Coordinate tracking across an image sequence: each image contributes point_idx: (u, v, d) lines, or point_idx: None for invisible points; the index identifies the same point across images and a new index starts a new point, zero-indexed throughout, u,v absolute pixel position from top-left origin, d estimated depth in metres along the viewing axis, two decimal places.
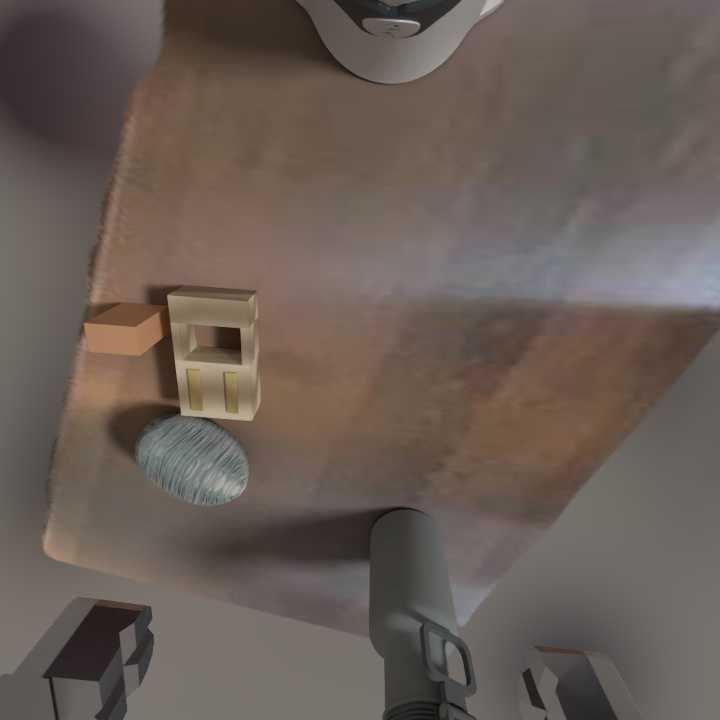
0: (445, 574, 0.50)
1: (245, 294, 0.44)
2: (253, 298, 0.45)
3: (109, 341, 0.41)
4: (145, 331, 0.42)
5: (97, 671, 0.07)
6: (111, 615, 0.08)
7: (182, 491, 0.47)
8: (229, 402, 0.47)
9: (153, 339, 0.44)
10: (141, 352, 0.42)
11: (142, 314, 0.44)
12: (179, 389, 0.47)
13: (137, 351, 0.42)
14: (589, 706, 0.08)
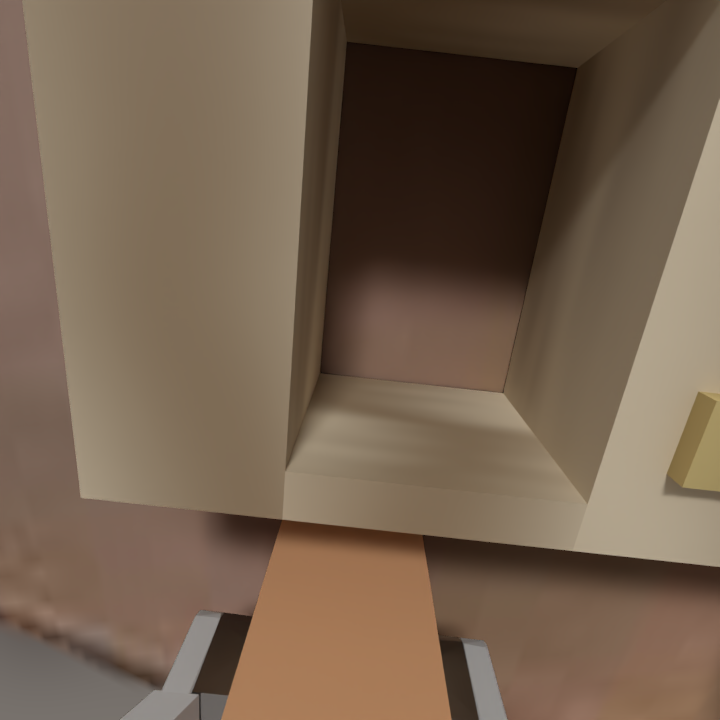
0: None
1: None
2: None
3: None
4: None
5: None
6: (239, 629, 0.08)
7: None
8: None
9: (403, 639, 0.07)
10: None
11: None
12: None
13: None
14: (450, 691, 0.08)
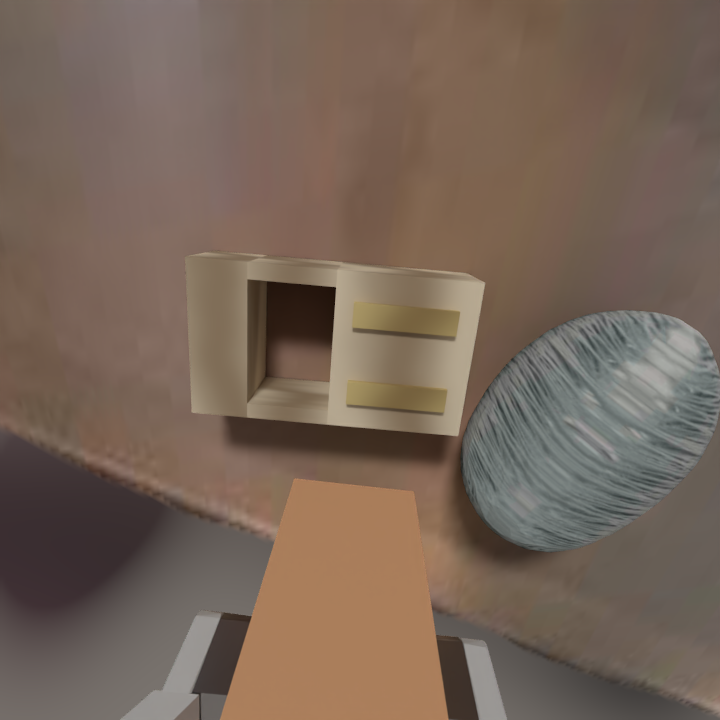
0: None
1: None
2: (211, 253, 0.22)
3: None
4: None
5: None
6: (240, 629, 0.08)
7: (651, 473, 0.18)
8: (428, 328, 0.20)
9: (401, 642, 0.07)
10: None
11: None
12: (395, 428, 0.22)
13: None
14: (450, 691, 0.08)
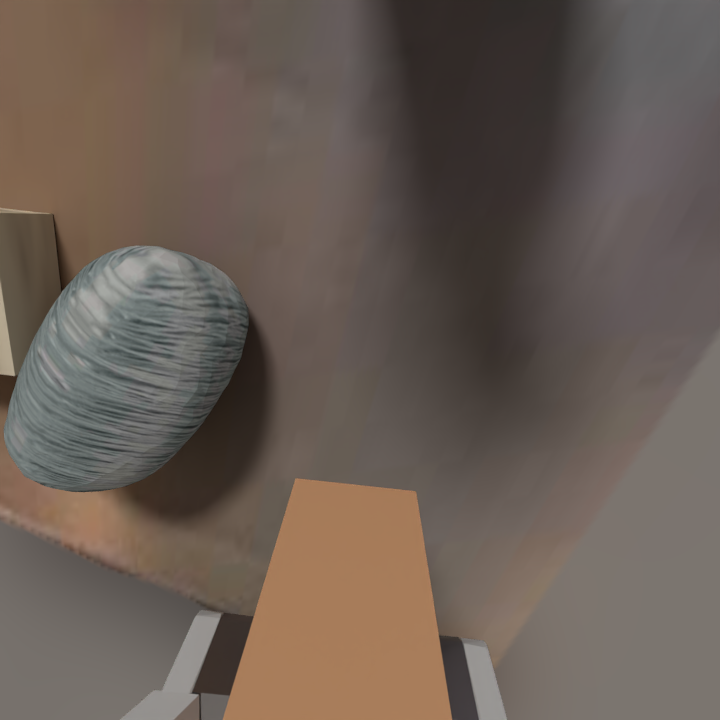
0: None
1: None
2: None
3: None
4: None
5: None
6: (240, 629, 0.08)
7: (107, 404, 0.18)
8: None
9: (404, 642, 0.07)
10: None
11: None
12: None
13: None
14: (450, 691, 0.08)
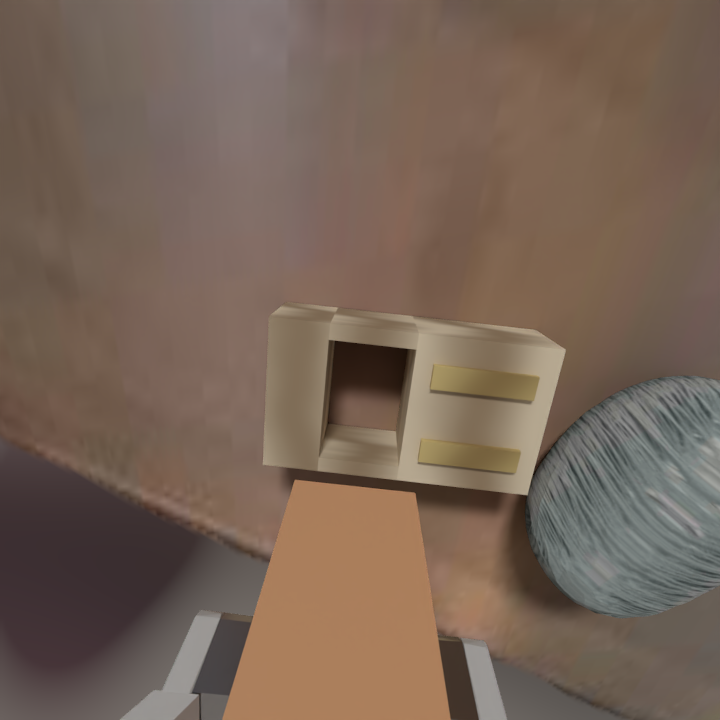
0: None
1: None
2: (287, 308, 0.22)
3: None
4: None
5: None
6: (240, 629, 0.08)
7: None
8: (506, 392, 0.20)
9: (403, 645, 0.07)
10: None
11: None
12: (464, 485, 0.22)
13: None
14: (450, 691, 0.08)
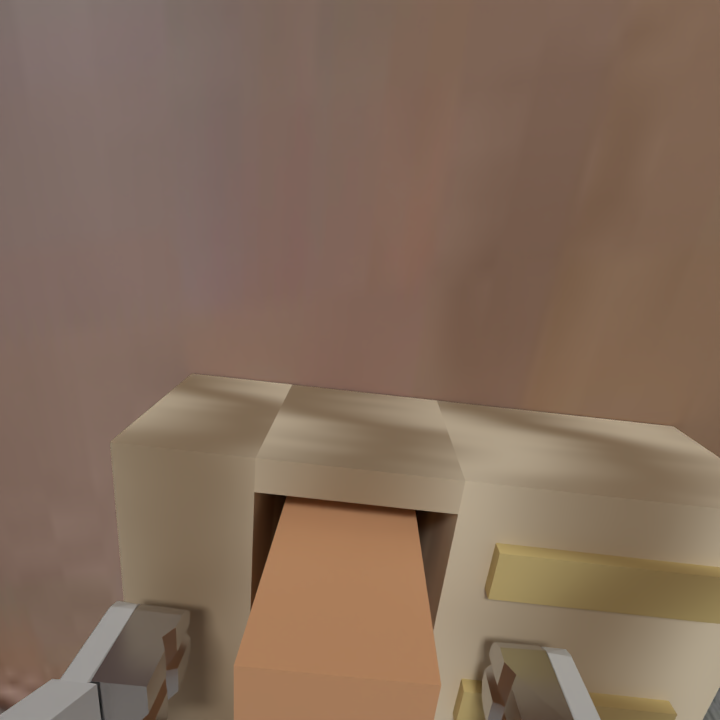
0: None
1: None
2: (181, 396, 0.11)
3: None
4: (317, 581, 0.08)
5: (144, 676, 0.07)
6: (152, 619, 0.08)
7: None
8: (663, 607, 0.09)
9: (392, 536, 0.09)
10: (425, 658, 0.06)
11: None
12: None
13: (409, 690, 0.06)
14: (544, 702, 0.08)
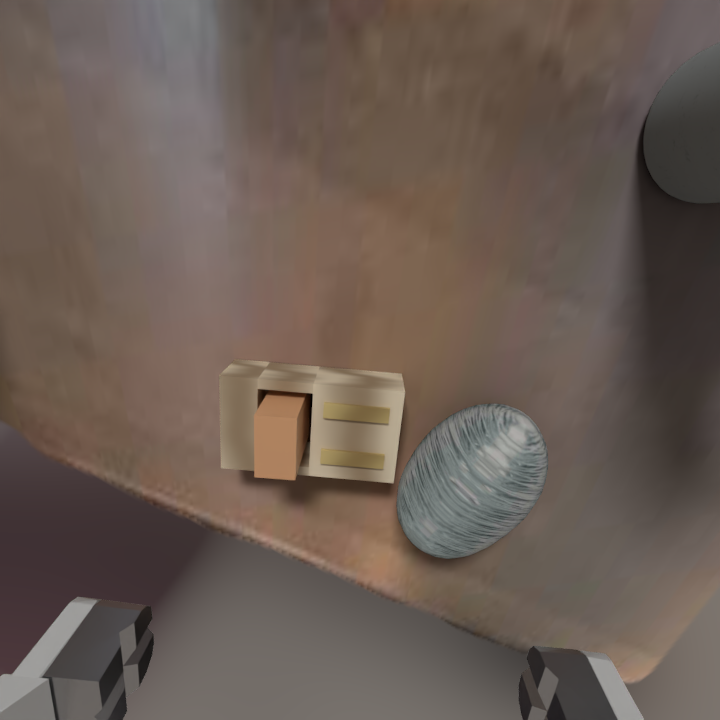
0: None
1: None
2: (234, 365, 0.34)
3: (278, 453, 0.30)
4: (273, 406, 0.31)
5: (97, 671, 0.07)
6: (111, 615, 0.08)
7: (499, 512, 0.30)
8: (370, 418, 0.32)
9: (296, 400, 0.32)
10: (295, 415, 0.30)
11: None
12: (352, 478, 0.34)
13: (290, 420, 0.29)
14: (589, 706, 0.08)
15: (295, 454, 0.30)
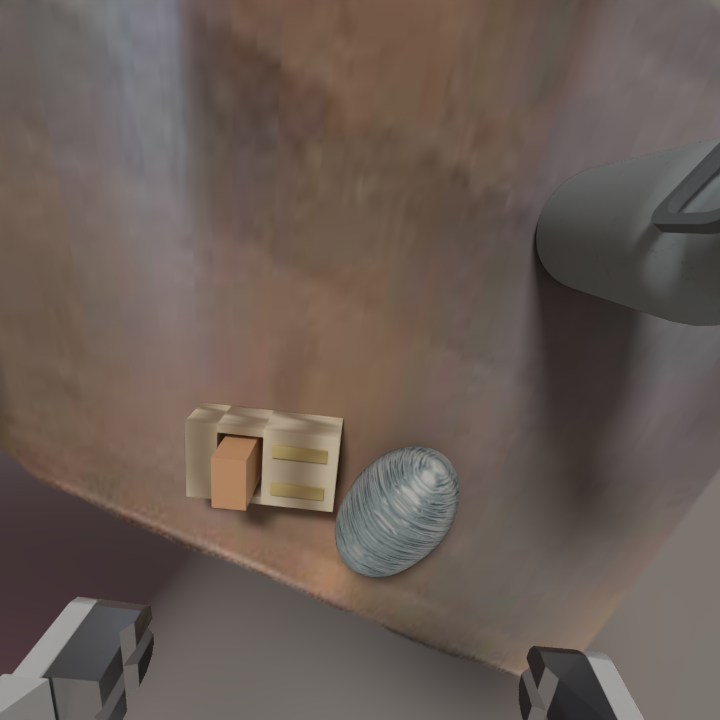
0: (631, 162, 0.26)
1: None
2: (199, 409, 0.40)
3: (231, 488, 0.36)
4: (228, 448, 0.37)
5: (97, 671, 0.07)
6: (111, 615, 0.08)
7: (413, 541, 0.36)
8: (311, 459, 0.38)
9: (249, 442, 0.38)
10: (245, 458, 0.36)
11: None
12: (297, 507, 0.40)
13: (241, 462, 0.36)
14: (589, 706, 0.08)
15: (245, 489, 0.37)
